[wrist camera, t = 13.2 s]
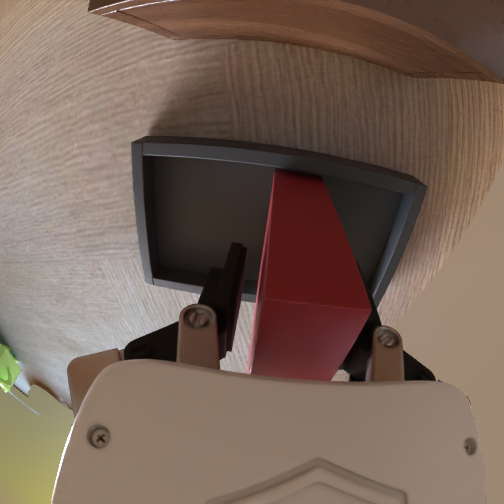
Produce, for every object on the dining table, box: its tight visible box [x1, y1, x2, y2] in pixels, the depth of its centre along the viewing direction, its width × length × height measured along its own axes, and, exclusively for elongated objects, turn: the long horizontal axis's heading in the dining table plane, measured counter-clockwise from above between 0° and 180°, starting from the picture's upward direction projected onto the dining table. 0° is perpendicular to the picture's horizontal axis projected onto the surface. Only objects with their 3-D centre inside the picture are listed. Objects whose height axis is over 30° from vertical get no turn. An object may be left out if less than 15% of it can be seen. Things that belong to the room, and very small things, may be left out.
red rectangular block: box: [246, 169, 372, 381], centre depth 13 cm, size 7×3×11 cm, turn 174°
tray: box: [131, 136, 427, 309], centre depth 17 cm, size 18×11×2 cm, turn 84°
